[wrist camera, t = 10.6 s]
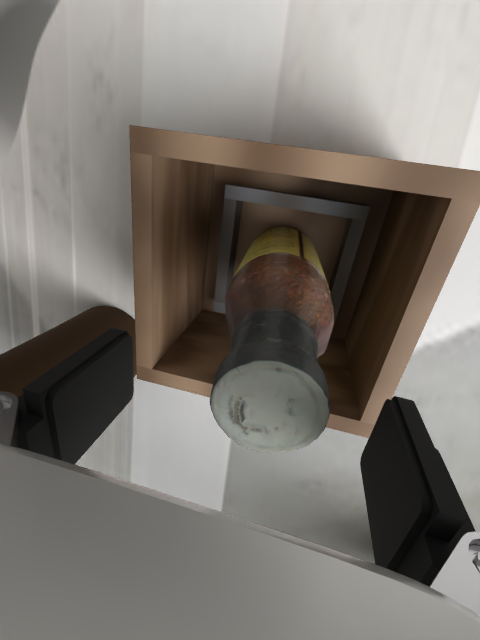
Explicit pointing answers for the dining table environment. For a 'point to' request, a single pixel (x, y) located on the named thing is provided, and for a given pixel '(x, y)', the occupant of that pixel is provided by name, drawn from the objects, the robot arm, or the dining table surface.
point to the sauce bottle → (275, 346)
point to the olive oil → (60, 346)
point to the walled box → (312, 220)
